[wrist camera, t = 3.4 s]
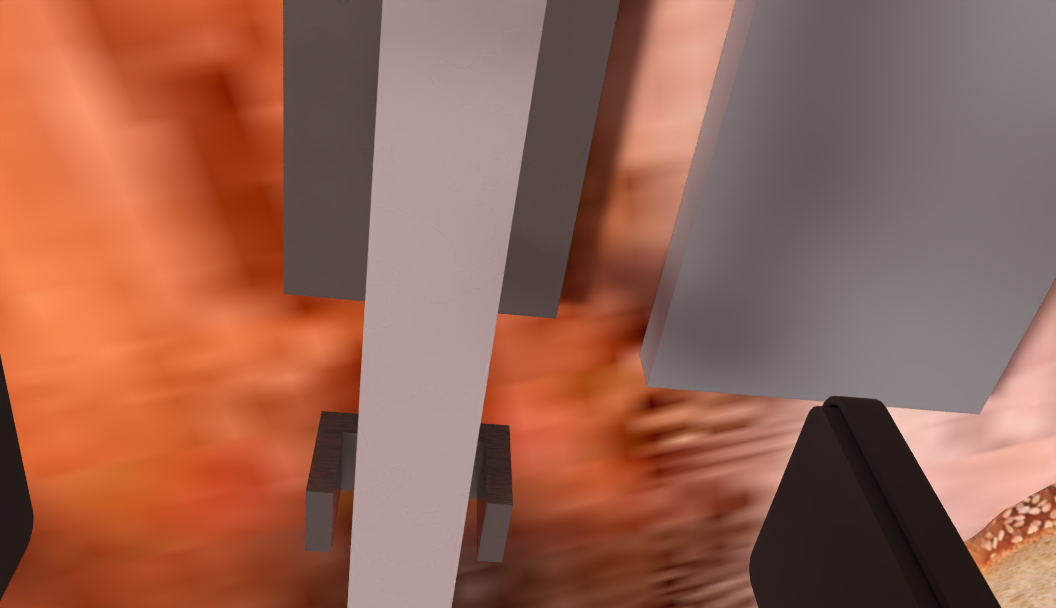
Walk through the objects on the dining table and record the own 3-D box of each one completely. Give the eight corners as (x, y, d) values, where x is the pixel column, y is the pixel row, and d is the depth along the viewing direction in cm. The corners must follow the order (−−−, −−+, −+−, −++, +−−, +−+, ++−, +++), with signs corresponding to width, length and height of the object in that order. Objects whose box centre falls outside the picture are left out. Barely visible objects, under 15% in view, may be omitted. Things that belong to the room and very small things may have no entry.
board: (1453, -552, 23) (1528, -567, 21) (958, 382, 40) (979, 414, 38) (920, -678, 21) (958, -706, 20) (639, 355, 38) (647, 386, 36)
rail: (646, -775, 11) (683, -868, 9) (451, 536, 25) (450, 615, 23) (442, -823, 11) (437, -931, 9) (357, 531, 25) (347, 610, 23)
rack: (722, -567, 22) (1023, -831, 10) (553, 295, 36) (593, 619, 24) (292, -660, 21) (46, -1087, 9) (290, 271, 35) (193, 598, 23)
